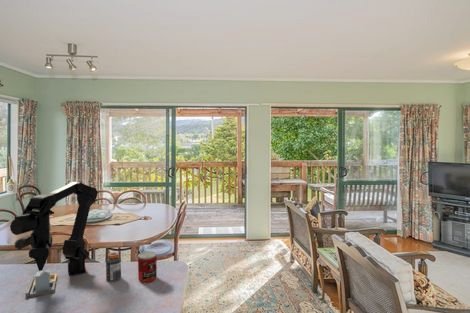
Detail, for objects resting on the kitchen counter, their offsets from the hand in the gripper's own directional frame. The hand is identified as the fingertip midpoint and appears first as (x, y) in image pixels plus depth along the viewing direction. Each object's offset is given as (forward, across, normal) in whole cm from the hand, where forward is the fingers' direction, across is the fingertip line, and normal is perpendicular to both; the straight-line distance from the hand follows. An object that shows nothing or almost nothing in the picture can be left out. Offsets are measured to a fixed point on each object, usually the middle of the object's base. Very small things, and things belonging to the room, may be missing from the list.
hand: (42, 266), depth 115 cm
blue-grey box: (+10, 0, 0) cm, 10 cm away
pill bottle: (+10, +3, +26) cm, 28 cm away
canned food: (+10, +10, +39) cm, 42 cm away
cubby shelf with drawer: (+10, -4, 0) cm, 11 cm away
